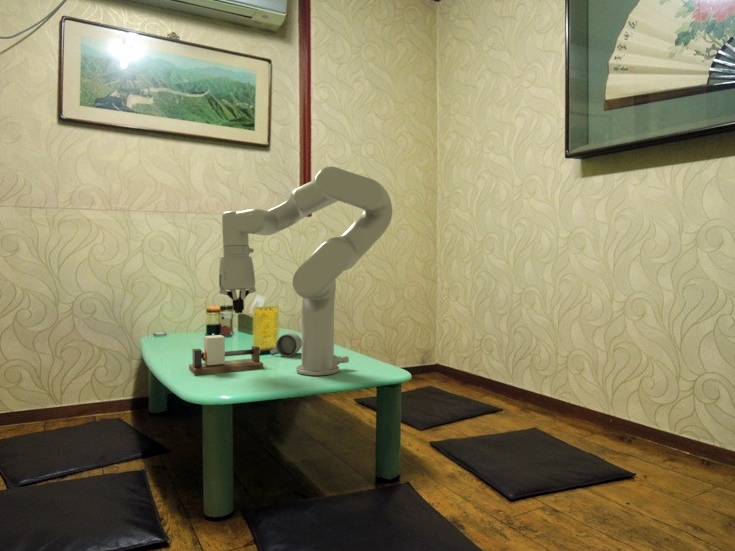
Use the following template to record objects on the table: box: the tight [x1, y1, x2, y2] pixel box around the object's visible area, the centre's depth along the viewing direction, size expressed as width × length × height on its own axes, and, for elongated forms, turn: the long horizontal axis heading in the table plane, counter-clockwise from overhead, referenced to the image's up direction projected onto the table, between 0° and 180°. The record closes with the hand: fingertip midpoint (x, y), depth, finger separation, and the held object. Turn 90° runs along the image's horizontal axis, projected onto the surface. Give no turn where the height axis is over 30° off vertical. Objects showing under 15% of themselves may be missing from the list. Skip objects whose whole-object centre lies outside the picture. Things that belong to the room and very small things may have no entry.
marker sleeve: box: [203, 334, 226, 365], centre depth 151 cm, size 5×5×8 cm
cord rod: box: [191, 348, 254, 368], centre depth 152 cm, size 18×3×5 cm, turn 119°
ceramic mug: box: [269, 332, 302, 358], centre depth 176 cm, size 11×8×8 cm
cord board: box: [188, 345, 264, 376], centre depth 153 cm, size 20×9×6 cm, turn 119°
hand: (238, 312), depth 153 cm, fingers closed
